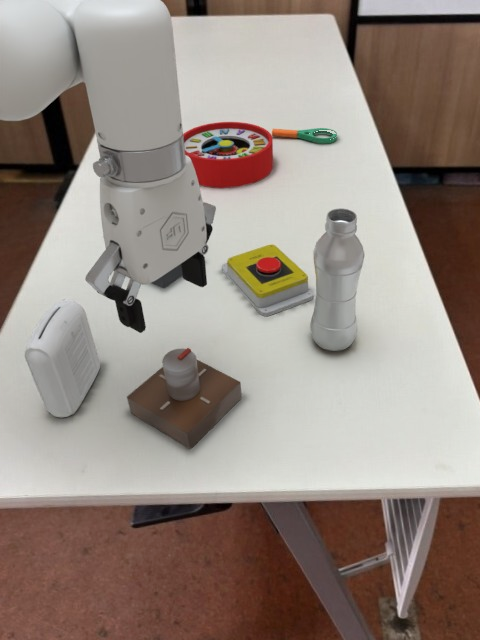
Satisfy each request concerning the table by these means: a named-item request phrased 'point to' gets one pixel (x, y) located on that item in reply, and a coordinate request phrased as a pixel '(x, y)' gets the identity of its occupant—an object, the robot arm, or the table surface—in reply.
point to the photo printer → (62, 357)
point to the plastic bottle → (337, 281)
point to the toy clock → (229, 153)
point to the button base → (169, 277)
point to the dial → (181, 374)
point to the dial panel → (185, 404)
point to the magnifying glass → (306, 134)
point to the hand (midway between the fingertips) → (165, 303)
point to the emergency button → (268, 279)
